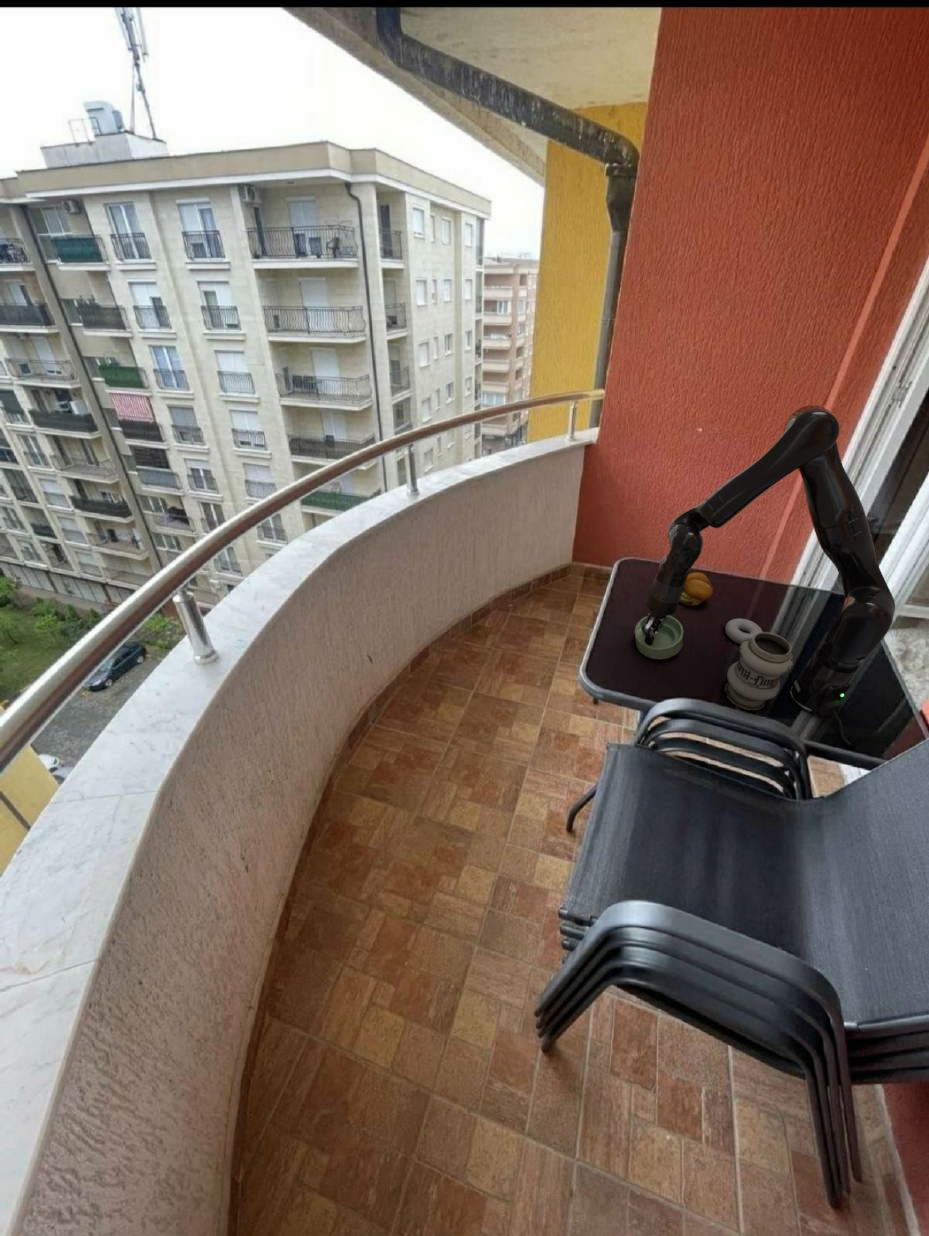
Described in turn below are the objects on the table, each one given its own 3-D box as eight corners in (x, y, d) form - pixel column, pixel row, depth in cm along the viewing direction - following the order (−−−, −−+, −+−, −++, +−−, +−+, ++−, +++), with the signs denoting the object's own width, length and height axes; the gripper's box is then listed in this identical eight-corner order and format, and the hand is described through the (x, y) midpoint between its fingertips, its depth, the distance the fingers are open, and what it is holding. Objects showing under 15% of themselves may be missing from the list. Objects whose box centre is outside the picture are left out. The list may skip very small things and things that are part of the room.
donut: (726, 645, 153) (764, 650, 152) (730, 636, 151) (768, 641, 150) (720, 622, 161) (756, 627, 160) (724, 613, 159) (761, 618, 157)
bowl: (685, 627, 151) (685, 615, 148) (680, 663, 145) (680, 651, 141) (639, 623, 157) (638, 612, 153) (632, 657, 150) (631, 646, 146)
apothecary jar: (711, 678, 143) (736, 626, 131) (755, 677, 144) (784, 625, 132) (732, 714, 134) (761, 662, 122) (779, 713, 135) (812, 661, 123)
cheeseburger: (688, 583, 175) (704, 562, 167) (708, 609, 169) (726, 588, 161) (663, 590, 171) (678, 568, 163) (683, 616, 166) (699, 595, 158)
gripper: (667, 611, 133) (649, 662, 144) (690, 587, 141) (671, 637, 152) (639, 598, 137) (624, 648, 148) (663, 575, 144) (647, 625, 156)
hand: (648, 642), depth 150 cm, fingers closed
